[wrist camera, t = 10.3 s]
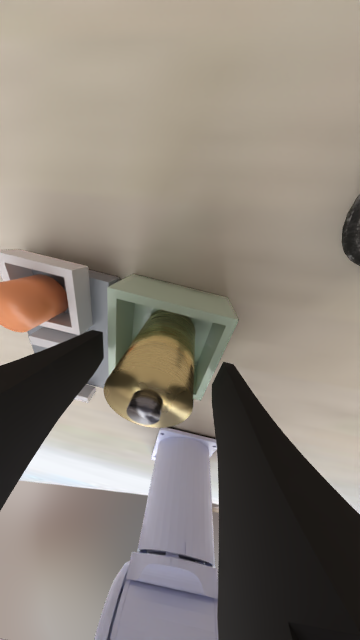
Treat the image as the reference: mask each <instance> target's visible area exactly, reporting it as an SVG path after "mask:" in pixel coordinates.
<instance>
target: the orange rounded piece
mask: <svg viewBox="0 0 360 640" xmlns="http://www.w3.org/2000/svg"><path fill="white" fill-rule="evenodd" d="M67 308H68V300H67V293H66V291H65V290H64V288H63V287H62V286H61V285H60V284H59V283H58V282H57V281H56V280H54V279H53V278H51V277H49V276H47V275H42V274H37V275H32V276H28V277H23V278H18V279H14V280H9V281H4V282H0V325H2V326H4V327H5V328H7V329H10V330H12V331H16V332H27V331H29V330H31V329H33V328H35V327H36V326H38V325H40V324H42V323H44V322H46V321H48V320H50V319H51V318H53V317H55V316H57V315H59V314H61V313H63V312H64V311H66V310H67Z"/></svg>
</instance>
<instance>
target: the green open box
mask: <svg viewBox="0 0 360 640" xmlns="http://www.w3.org/2000/svg"><path fill="white" fill-rule="evenodd" d="M107 304H108V366H109V375H110V374H111V372H112V371H113V370H114V368H115V367H116V365H117V364H118V362H119V361H120V359H121V358H122V356H123V355H124V354H125V352H126V351H127V349H128V348H129V346H130V345H131V343H132V342H133V340H134V339H135V337H136V336H137V335H138V333H139V332H140V330H141V329H142V327H143V326H144V324H145V323H146V321H147V320H148V319H149V317H150V316H151V315H152V314H153V313H154V312H156V311H158V310H165V311H169V312H173V313H177V314H181V315H185V316H188V317H189V318H190V319H191V320H192V322H193V324H194V327H195V357H194V387H193V399H197V400H201V399H202V397H203V395H204V393H205V391H206V388H207V386H208V384H209V382H210V380H211V378H212V376H213V374H214V372H215V369H216V367H217V365H218V363H219V361H220V359H221V357H222V355H223V353H224V350H225V348H226V346H227V344H228V342H229V340H230V338H231V336H232V334H233V331H234V329H235V327H236V325H237V323H238V321H239V319H238V317H237V315H236V313H235V311H234V309H233V307H232V305H231V303H230V301H229V299H228V298H227V297H224V296H220V295H216V294H212V293H208V292H204V291H200V290H196V289H192V288H188V287H184V286H180V285H176V284H172V283H168V282H164V281H160V280H156V279H152V278H148V277H144V276H140V275H136V274H132V275H130V276H128V277H126V278H124V279H122V280H120V281H118V282H116V283H114V284H113V285H111V286H109V287H107Z"/></svg>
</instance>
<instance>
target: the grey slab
mask: <svg viewBox="0 0 360 640" xmlns="http://www.w3.org/2000/svg"><path fill="white" fill-rule="evenodd" d="M37 274H42V275H47V276H49V277H51V278H53V279H54V280H56V281H57V282H58V283H59V284H60V285H61V286H62V287H63V288H64V290H65V291H66V293H67V300H68V308H67V310H66V311H64V312H63V313H61V314H59V315H57V316H55V317H53V318H51V319H50V320H48V321H46V322H44V323H42V324H40V325H38V326H36V327H35V328H33V329H31V330H29V331H27V332H28V337H29V340H30V343H31V344H32V347H33V350H34V353H37V352H40V351H42V350H45V349H47V348H50V347H52V346H55V345H57V344H59V343H62V342H64V341H67V340H69V339H71V338H74V337H76V336H78V335H81V334H83V333H85V332H88V331H91V330H96V331H100V332H103V348H104V359H103V360H102V362H101V364H100V365H99V367H98V369H97V370H96V372H95V373H94V375H93V376H92V377H91V379H90V380H89V381H88V382H87V384H89V385H85V386H84V387H83V389H82V390H81V391H80V392H79V394H78V395H77V396H76V397H75V399H74V400H78V401H83V402H87V403H88V402H89V401H90V399H91V398H92V396H93V395H94V393H95V392H96V390H95V387H94V386H97V387H101V388H104V384H105V382H106V380H107V378H108V377H109V366H108V304H107V287H109V286H111V285H113V284H114V283H116V282H118V281H119V277H116V276H112V275H108V274H104V273H100V272H96V271H92V270H89V269H88V266H85V265H81V264H77V263H73V262H69V261H65V260H61V259H57V258H53V257H49V256H45V255H41V254H37V253H33V252H29V251H25V250H21V249H11V250H0V275H1V277H2V280H3V282H4V281H9V280H14V279H18V278H23V277H28V276H32V275H37ZM90 385H93V386H90Z"/></svg>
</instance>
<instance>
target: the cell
mask: <svg viewBox="0 0 360 640" xmlns="http://www.w3.org/2000/svg"><path fill="white" fill-rule="evenodd" d="M194 357H195V327H194V324H193V322H192V320H191V319H190V318H189V317H188V316H185V315H181V314H177V313H173V312H169V311H165V310H158V311H156V312H154V313H153V314H152V315H151V316H150V317H149V319H148V320H147V321H146V323H145V324H144V326H143V327H142V329H141V330H140V332H139V333H138V335H137V336H136V337H135V339H134V340H133V342H132V343H131V345H130V346H129V348H128V349H127V351H126V352H125V354H124V355H123V356H122V358H121V359H120V361H119V362H118V364H117V365H116V367H115V368H114V370H113V371H112V372H111V374H110V375H109V377H108V378H107V380H106V382H105V384H104V396H105V398H106V400H107V402H108V404H109V405H110V407H111V408H112V409H113V410H114V411H115V412H116V413H117V414H119V415H120V416H122V417H123V418H125V419H127V420H129V421H131V422H133V423H135V424H138V425H142V426H146V427H153V428H165V427H171V426H175V425H177V424H180V423H181V422H183V421H184V420H186V419H187V418H188V417H189V415H190V414H191V412H192V408H193V387H194Z"/></svg>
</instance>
